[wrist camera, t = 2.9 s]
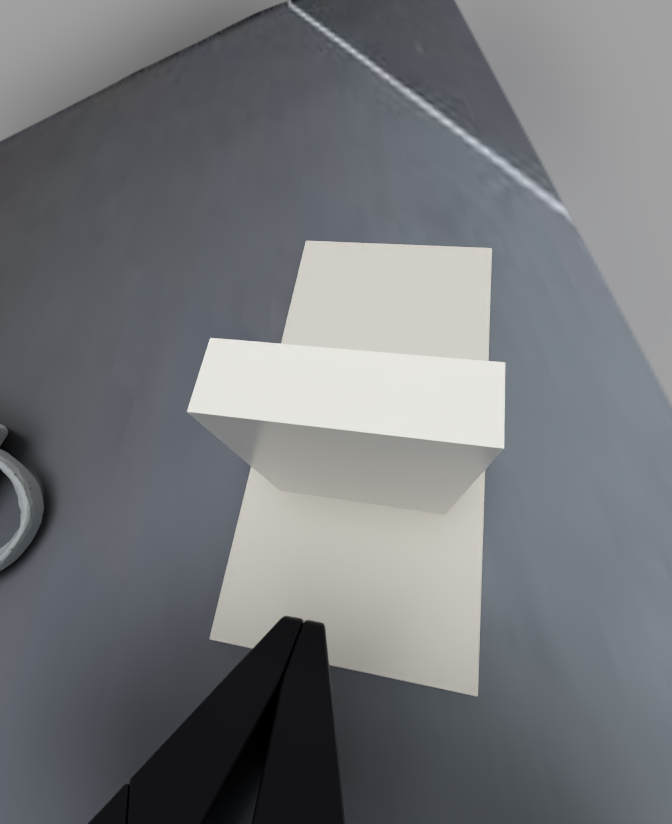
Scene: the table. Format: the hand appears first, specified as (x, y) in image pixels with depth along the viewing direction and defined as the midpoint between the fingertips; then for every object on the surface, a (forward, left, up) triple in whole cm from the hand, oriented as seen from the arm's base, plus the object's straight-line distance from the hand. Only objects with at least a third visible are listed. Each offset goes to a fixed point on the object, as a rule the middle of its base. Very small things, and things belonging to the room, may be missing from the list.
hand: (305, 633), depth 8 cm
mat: (+3, +8, -9) cm, 12 cm away
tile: (+2, +5, -8) cm, 10 cm away
